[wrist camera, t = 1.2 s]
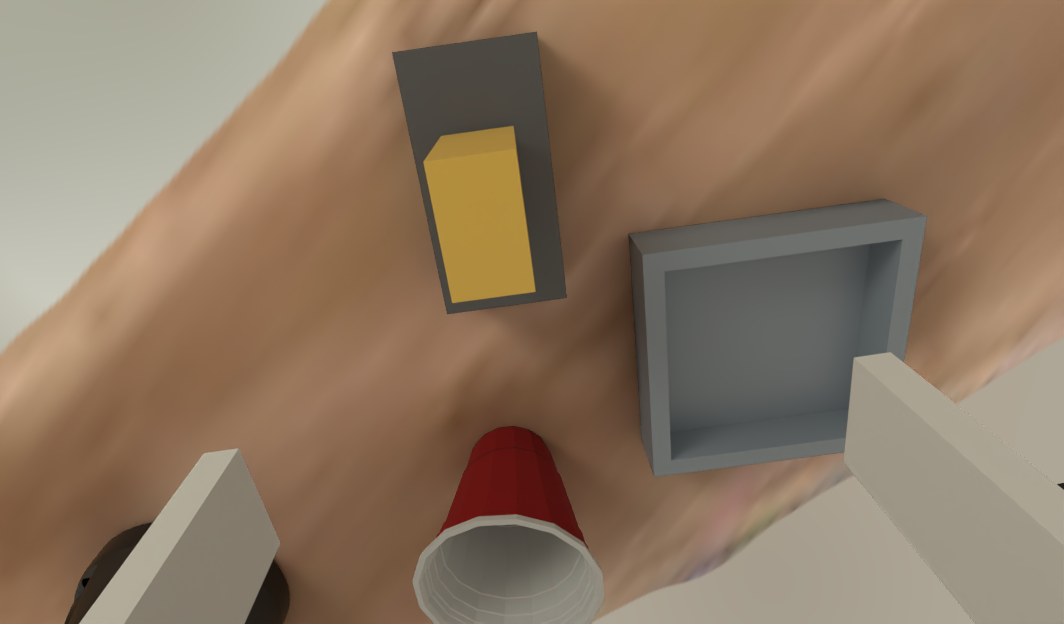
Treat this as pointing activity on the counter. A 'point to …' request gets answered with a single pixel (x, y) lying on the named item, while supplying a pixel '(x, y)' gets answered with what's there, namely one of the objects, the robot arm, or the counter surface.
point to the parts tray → (765, 329)
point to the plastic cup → (509, 543)
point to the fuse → (480, 214)
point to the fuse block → (478, 104)
